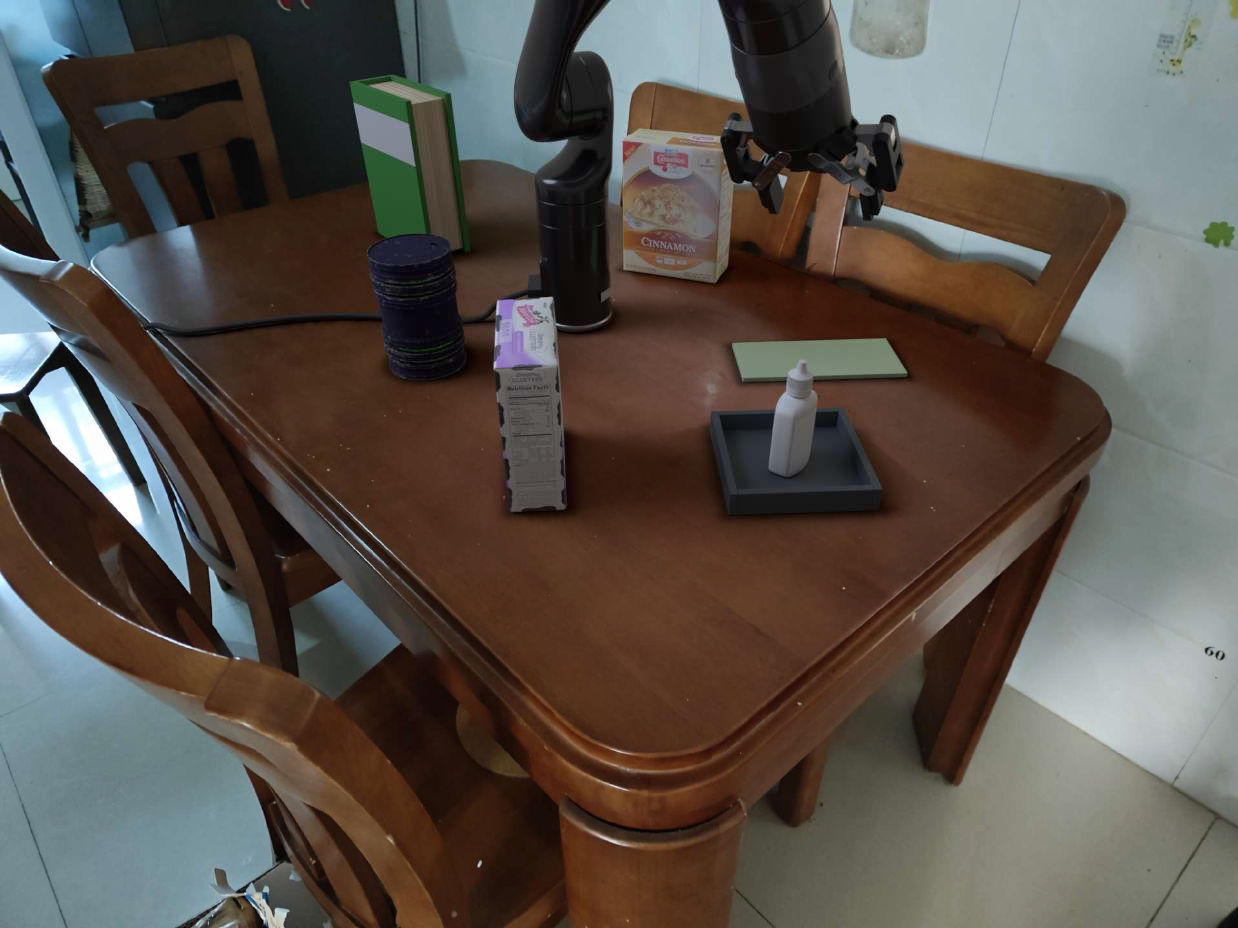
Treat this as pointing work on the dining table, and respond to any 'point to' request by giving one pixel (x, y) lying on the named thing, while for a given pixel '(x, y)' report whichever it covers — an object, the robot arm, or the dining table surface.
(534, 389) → the candy box
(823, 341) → the mat
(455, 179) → the hardback book
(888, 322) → the dining table surface
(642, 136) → the coffeecake box
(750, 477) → the tray
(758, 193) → the robot arm
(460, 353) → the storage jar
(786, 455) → the eye dropper bottle
